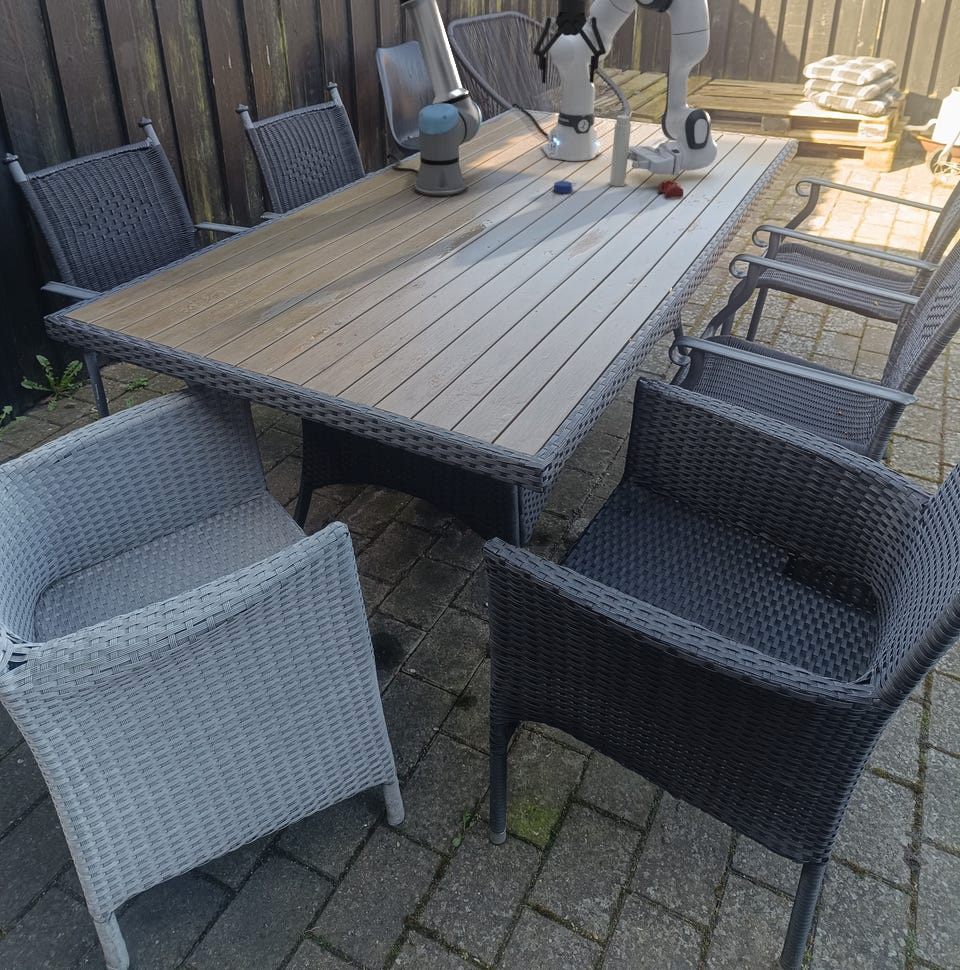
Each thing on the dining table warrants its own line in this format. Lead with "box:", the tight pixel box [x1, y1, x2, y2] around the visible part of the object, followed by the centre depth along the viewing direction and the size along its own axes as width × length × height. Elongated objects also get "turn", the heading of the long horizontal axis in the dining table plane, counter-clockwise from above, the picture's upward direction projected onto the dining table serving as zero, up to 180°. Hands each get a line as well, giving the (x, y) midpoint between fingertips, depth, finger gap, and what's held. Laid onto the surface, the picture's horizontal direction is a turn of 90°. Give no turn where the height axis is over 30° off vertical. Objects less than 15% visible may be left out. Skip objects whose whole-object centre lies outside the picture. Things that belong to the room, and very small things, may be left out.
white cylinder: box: [609, 114, 632, 187], centre depth 257 cm, size 5×5×20 cm
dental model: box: [657, 179, 684, 199], centre depth 253 cm, size 6×4×8 cm
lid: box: [553, 180, 573, 195], centre depth 257 cm, size 6×6×2 cm
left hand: (567, 82), depth 240 cm, fingers open, 13 cm apart
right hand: (626, 161), depth 260 cm, fingers open, 8 cm apart
